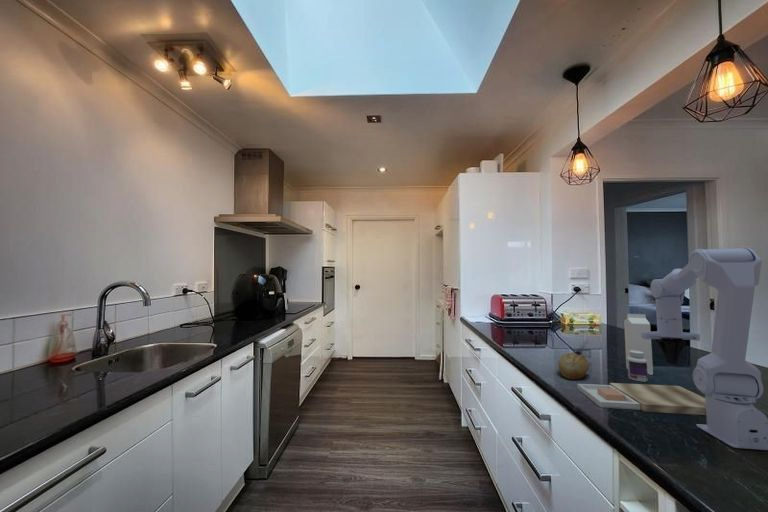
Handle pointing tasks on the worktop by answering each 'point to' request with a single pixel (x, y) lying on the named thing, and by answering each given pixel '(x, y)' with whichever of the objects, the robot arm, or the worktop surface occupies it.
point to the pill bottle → (637, 366)
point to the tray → (592, 393)
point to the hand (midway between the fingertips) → (671, 363)
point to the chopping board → (664, 398)
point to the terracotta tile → (611, 394)
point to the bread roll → (573, 365)
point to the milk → (638, 338)
